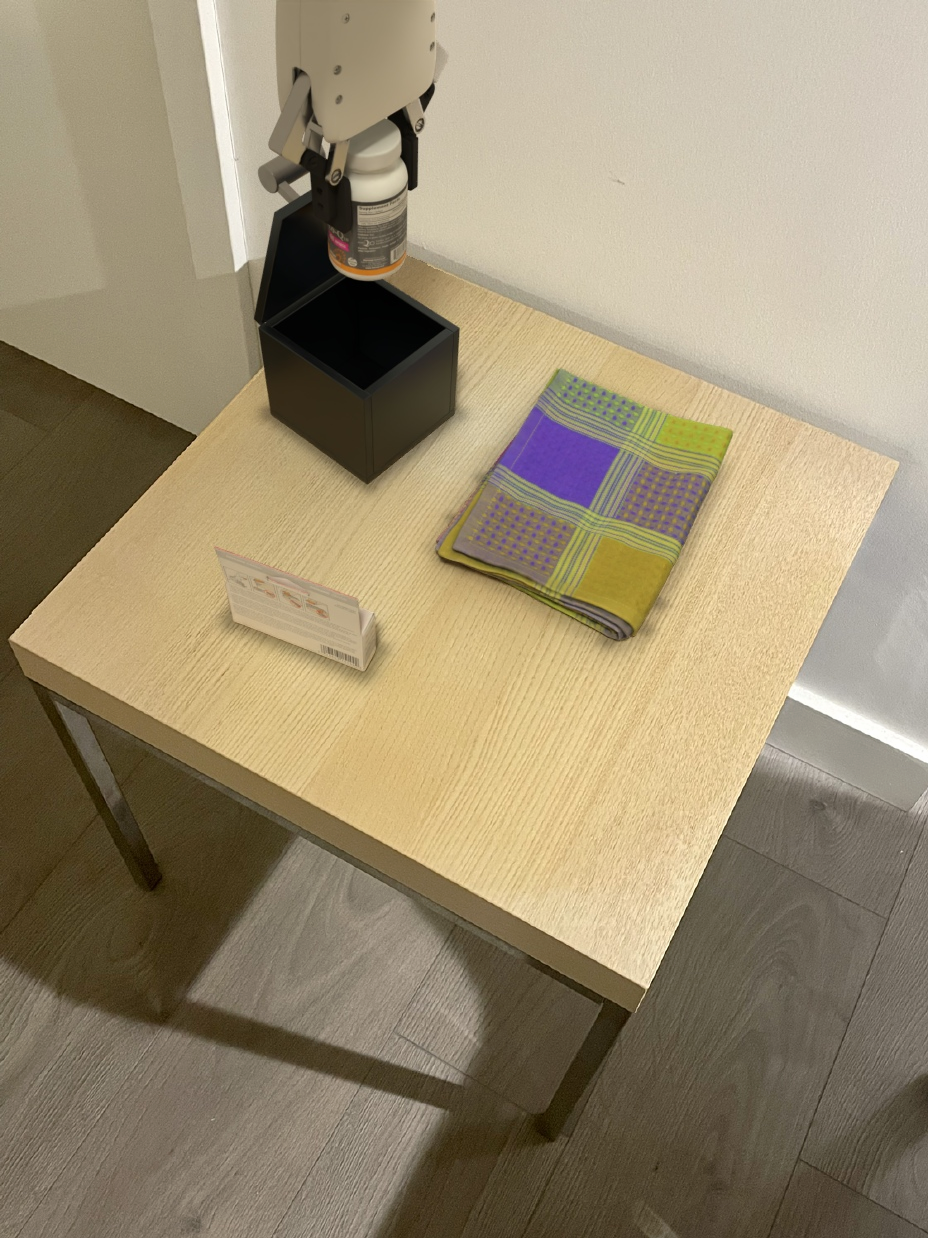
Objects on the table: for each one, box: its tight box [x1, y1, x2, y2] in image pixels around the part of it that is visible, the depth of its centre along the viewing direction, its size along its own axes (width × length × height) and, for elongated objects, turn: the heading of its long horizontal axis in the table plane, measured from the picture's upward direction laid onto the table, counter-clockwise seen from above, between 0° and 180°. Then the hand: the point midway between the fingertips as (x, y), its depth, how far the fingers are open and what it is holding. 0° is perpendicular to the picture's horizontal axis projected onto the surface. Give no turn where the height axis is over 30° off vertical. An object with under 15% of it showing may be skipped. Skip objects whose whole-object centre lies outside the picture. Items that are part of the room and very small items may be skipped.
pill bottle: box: [327, 117, 409, 281], centre depth 74 cm, size 6×6×10 cm
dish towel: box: [434, 367, 734, 641], centre depth 88 cm, size 18×24×3 cm
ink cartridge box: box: [213, 546, 377, 673], centre depth 77 cm, size 2×11×10 cm, turn 68°
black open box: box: [257, 272, 461, 485], centre depth 89 cm, size 12×11×10 cm
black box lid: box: [253, 141, 339, 326], centre depth 81 cm, size 12×11×5 cm
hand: (366, 199), depth 74 cm, fingers closed on pill bottle, 5 cm apart
